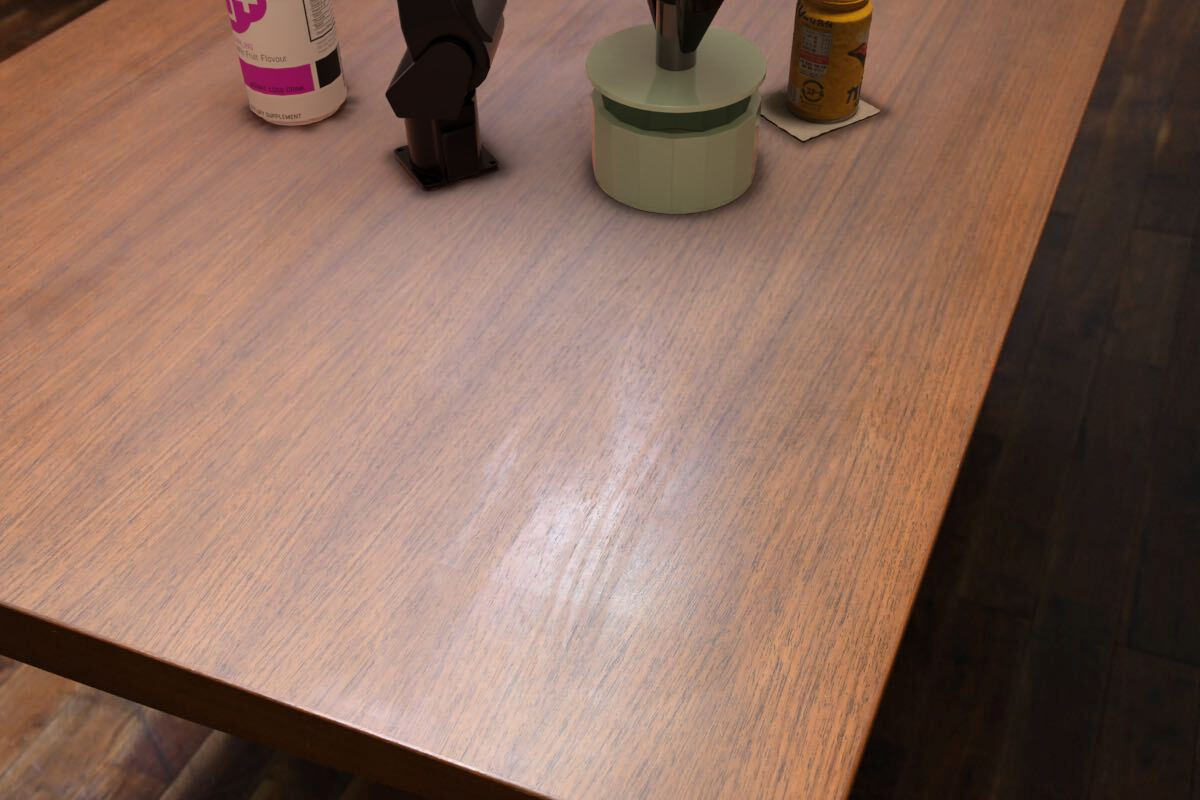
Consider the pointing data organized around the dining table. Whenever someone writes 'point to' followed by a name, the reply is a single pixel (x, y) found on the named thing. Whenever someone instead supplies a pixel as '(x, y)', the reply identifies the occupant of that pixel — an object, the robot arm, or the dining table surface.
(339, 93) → the supplement can
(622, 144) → the canister
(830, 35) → the yellow drink can
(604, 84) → the lid
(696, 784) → the dining table surface
